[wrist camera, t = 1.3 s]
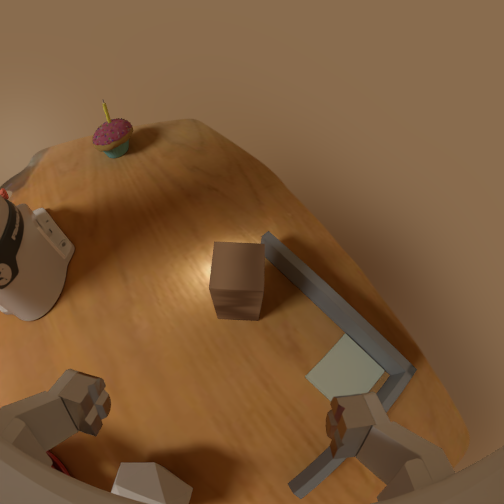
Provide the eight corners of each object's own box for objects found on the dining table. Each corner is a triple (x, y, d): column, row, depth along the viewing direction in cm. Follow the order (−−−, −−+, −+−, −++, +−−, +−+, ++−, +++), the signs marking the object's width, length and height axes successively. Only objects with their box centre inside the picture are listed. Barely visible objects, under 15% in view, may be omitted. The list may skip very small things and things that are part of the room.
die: (119, 453, 24) (84, 504, 14) (155, 434, 23) (117, 499, 13) (170, 490, 25) (147, 543, 15) (214, 476, 23) (194, 542, 13)
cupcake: (100, 146, 51) (83, 102, 40) (136, 133, 52) (123, 87, 42) (100, 170, 47) (79, 122, 36) (139, 155, 49) (124, 105, 38)
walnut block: (217, 318, 34) (209, 288, 25) (221, 282, 36) (214, 241, 28) (258, 320, 34) (263, 291, 25) (259, 283, 36) (264, 243, 28)
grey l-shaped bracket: (150, 339, 32) (139, 332, 28) (266, 246, 39) (268, 231, 36) (294, 488, 23) (301, 499, 19) (400, 373, 30) (416, 369, 27)
